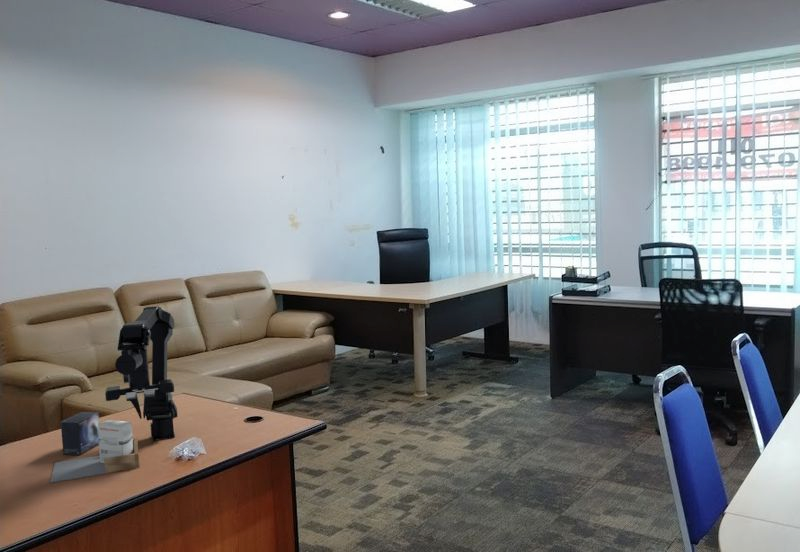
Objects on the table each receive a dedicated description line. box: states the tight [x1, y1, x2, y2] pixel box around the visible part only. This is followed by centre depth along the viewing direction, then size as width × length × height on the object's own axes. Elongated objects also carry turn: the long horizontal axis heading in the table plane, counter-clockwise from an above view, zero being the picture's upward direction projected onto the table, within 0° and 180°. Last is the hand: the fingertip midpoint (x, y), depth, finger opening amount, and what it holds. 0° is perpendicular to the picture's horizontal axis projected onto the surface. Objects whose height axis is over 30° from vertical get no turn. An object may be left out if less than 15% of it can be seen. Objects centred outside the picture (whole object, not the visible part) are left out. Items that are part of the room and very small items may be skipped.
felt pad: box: [49, 455, 107, 484], centre depth 205 cm, size 14×16×1 cm
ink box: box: [98, 419, 134, 463], centre depth 208 cm, size 9×5×12 cm, turn 71°
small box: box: [60, 411, 100, 456], centre depth 221 cm, size 11×6×10 cm, turn 168°
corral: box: [104, 437, 140, 474], centre depth 209 cm, size 9×15×4 cm, turn 21°
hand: (142, 418), depth 210 cm, fingers closed
